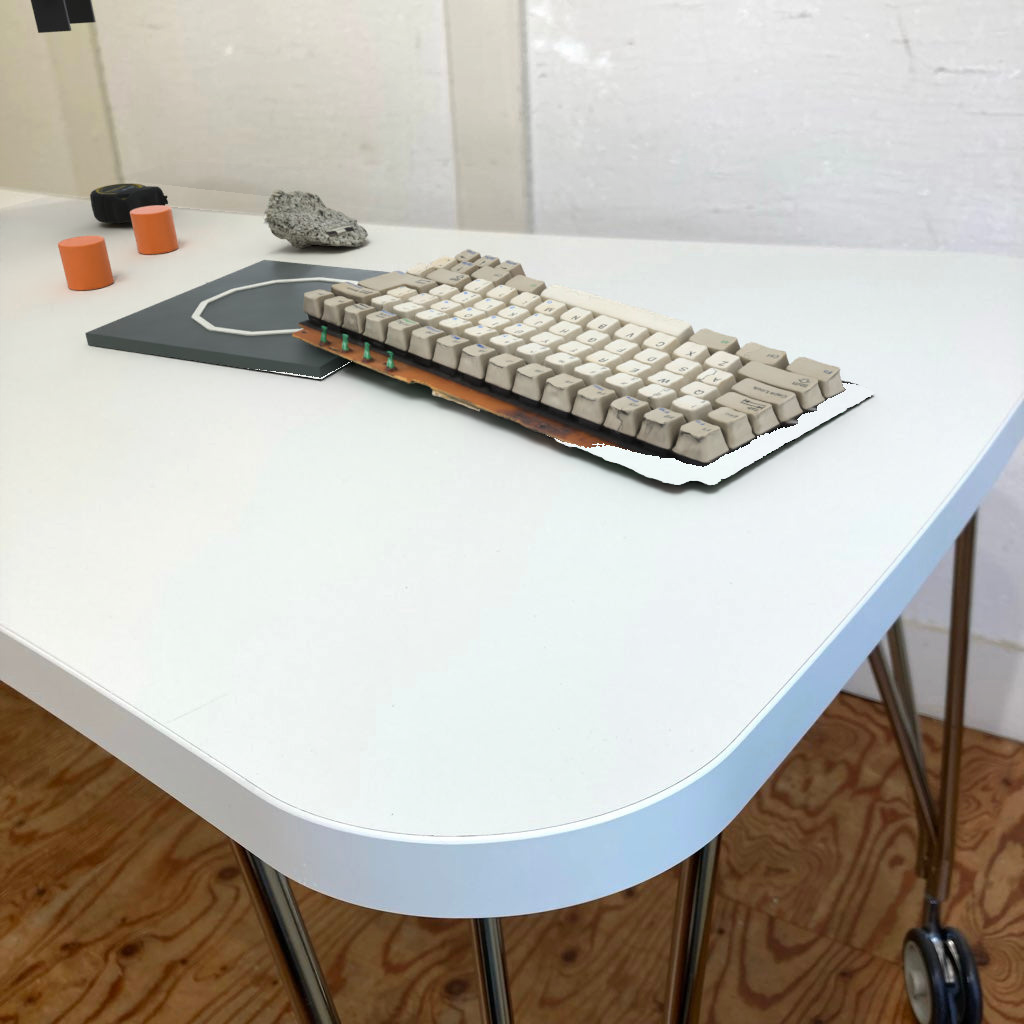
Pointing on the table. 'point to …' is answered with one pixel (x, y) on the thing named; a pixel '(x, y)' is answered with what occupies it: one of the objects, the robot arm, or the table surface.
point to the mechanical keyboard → (565, 359)
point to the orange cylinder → (86, 262)
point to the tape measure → (123, 201)
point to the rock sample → (310, 221)
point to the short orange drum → (154, 229)
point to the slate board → (236, 320)
